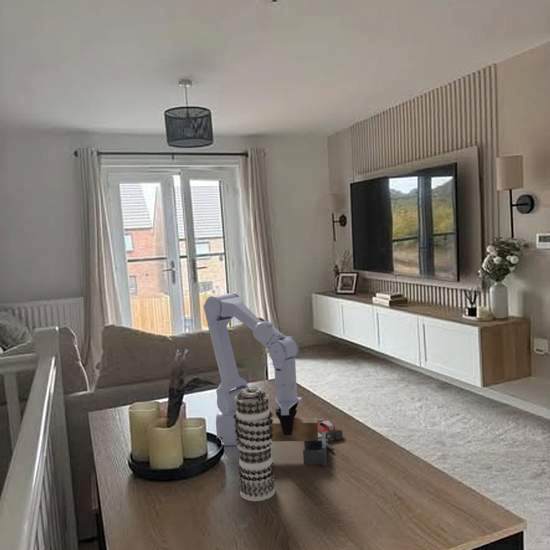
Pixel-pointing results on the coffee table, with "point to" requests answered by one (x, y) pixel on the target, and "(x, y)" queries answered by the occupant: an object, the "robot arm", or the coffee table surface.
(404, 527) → the coffee table surface
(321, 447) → the bracket
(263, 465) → the decorative candle
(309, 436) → the brown long rectangular block
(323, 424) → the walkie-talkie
